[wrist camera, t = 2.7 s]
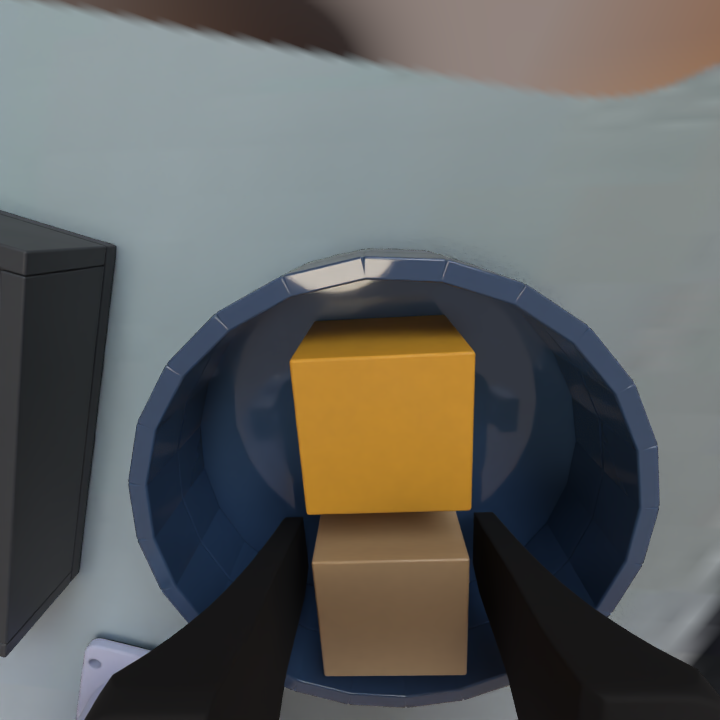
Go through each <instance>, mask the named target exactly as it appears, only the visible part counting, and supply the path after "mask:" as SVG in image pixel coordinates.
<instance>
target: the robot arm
mask: <svg viewBox="0 0 720 720" xmlns="http://www.w3.org/2000/svg"><path fill="white" fill-rule="evenodd" d="M308 567H309V564H308V555H307V547H306V538H305V530H304V521H303V517H285V518H284V519H283V520H282V522H281V523H280V525H279V526H278V527H277V529H276V530H275V532H274V533H273V534H272V536H271V537H270V538H269V540H268V541H267V542H266V544H265V545H264V546H263V548H262V549H261V550H260V551H259V553H258V554H257V555H256V556H255V558H254V559H253V560H252V561H251V563H250V564H249V565H248V566H247V567H246V568H245V569H244V571H243V572H242V573H241V574H240V575H239V576H238V577H237V578H236V580H235V581H234V582H233V583H232V584H231V585H230V586H229V587H228V588H227V589H226V590H225V591H224V592H223V593H222V594H221V595H220V596H219V597H218V598H217V599H216V600H215V601H214V602H213V603H212V604H211V605H210V606H209V607H207V608H206V609H205V610H204V611H203V612H202V613H200V614H199V615H198V616H197V617H196V618H194V619H193V620H192V621H191V622H190V623H188V624H187V625H186V626H185V627H184V628H182V629H181V630H180V631H178V632H177V633H176V634H174V635H173V636H172V637H170V638H169V639H167V640H166V641H165V642H163V643H162V644H160V645H159V646H157V647H156V648H155V649H153V650H152V651H151V650H147V649H143V648H139V647H135V646H131V645H127V644H123V643H119V642H115V641H111V640H107V639H103V638H97V639H93V640H92V641H91V642H90V643H89V645H88V646H87V648H86V649H85V653H84V660H83V668H82V676H81V683H80V691H79V699H78V706H77V714H76V720H279V717H280V710H281V703H282V697H283V690H284V684H285V678H286V673H287V668H288V664H289V660H290V656H291V652H292V647H293V643H294V639H295V635H296V631H297V627H298V623H299V619H300V615H301V610H302V606H303V602H304V598H305V591H306V584H307V576H308ZM473 567H474V571H475V576H476V581H477V585H478V589H479V593H480V596H481V599H482V602H483V605H484V608H485V611H486V614H487V617H488V620H489V623H490V626H491V629H492V632H493V634H494V637H495V640H496V643H497V646H498V649H499V652H500V655H501V658H502V661H503V663H504V667H505V670H506V673H507V677H508V680H509V684H510V688H511V692H512V696H513V700H514V704H515V708H516V712H517V716H518V720H720V697H719V695H718V694H717V693H716V691H715V690H714V689H713V687H712V686H711V685H710V684H709V683H708V681H707V680H706V679H705V678H704V677H703V675H702V674H701V673H700V672H699V671H698V669H696V668H694V667H692V666H690V665H688V664H686V663H684V662H683V661H681V660H679V659H677V658H675V657H673V656H671V655H669V654H667V653H665V652H663V651H662V650H660V649H658V648H656V647H654V646H652V645H651V644H649V643H647V642H646V641H644V640H642V639H641V638H639V637H637V636H636V635H634V634H632V633H630V632H629V631H627V630H626V629H624V628H623V627H621V626H619V625H618V624H616V623H615V622H613V621H612V620H610V619H609V618H608V617H606V616H605V615H603V614H602V613H600V612H599V611H597V610H596V609H594V608H593V607H592V606H590V605H589V604H588V603H586V602H585V601H584V600H582V599H581V598H580V597H579V596H577V595H576V594H575V593H574V592H572V591H571V590H570V589H569V588H567V587H566V586H565V585H564V584H562V583H561V582H560V581H559V580H558V579H557V578H556V577H555V576H553V575H552V574H551V573H550V572H549V571H548V570H547V569H546V568H545V567H544V566H543V565H542V564H541V563H540V562H539V561H538V560H537V559H536V558H535V557H534V556H533V555H532V554H531V553H530V552H529V551H528V550H527V549H526V548H525V547H524V546H523V545H522V544H521V543H520V542H519V541H518V540H517V539H516V538H515V536H514V535H513V534H512V533H511V532H510V531H509V530H508V529H507V527H506V526H505V525H504V524H503V523H502V522H501V521H500V519H499V518H498V517H497V516H496V515H495V514H494V513H493V512H474V528H473Z"/></svg>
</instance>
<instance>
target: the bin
mask: <svg viewBox="0 0 720 720" xmlns="http://www.w3.org/2000/svg"><path fill="white" fill-rule="evenodd" d="M115 252H116V246H115V245H113V244H109V243H106V242H103V241H99V240H96V239H93V238H90V237H86V236H83V235H80V234H76V233H73V232H70V231H66V230H63V229H60V228H56V227H53V226H50V225H47V224H43V223H40V222H37V221H33V220H30V219H27V218H23V217H20V216H17V215H14V214H10V213H7V212H4V211H0V656H1V657H6V656H7V655H8V654H9V653H10V652H11V651H12V650H13V648H14V647H15V646H16V645H17V644H18V643H19V641H20V640H21V639H22V638H23V637H24V636H25V634H26V633H27V632H28V631H29V630H30V629H31V627H32V626H33V625H34V624H35V623H36V622H37V620H38V619H39V618H40V617H41V616H42V615H43V613H44V612H45V611H46V610H47V609H48V608H49V606H50V605H51V604H52V603H53V602H54V601H55V599H56V598H57V597H58V596H59V595H60V594H61V592H62V591H63V590H64V589H65V588H66V587H67V585H68V584H69V583H70V582H71V581H72V580H73V578H74V577H75V576H76V575H77V574H78V572H79V564H80V555H81V547H82V538H83V529H84V521H85V512H86V503H87V495H88V486H89V477H90V469H91V460H92V451H93V443H94V434H95V425H96V417H97V408H98V400H99V391H100V382H101V374H102V365H103V356H104V348H105V339H106V330H107V322H108V313H109V304H110V296H111V287H112V278H113V270H114V261H115Z"/></svg>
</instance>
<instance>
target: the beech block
mask: <svg viewBox="0 0 720 720" xmlns="http://www.w3.org/2000/svg"><path fill="white" fill-rule="evenodd" d="M469 567H470V559H469V556H468V552H467V549H466V545H465V542H464V538H463V535H462V531H461V528H460V524H459V521H458V517H457V514H456V511H434V512H397V513H360V514H323V515H320V521H319V526H318V532H317V537H316V542H315V548H314V553H313V558H312V571H313V580H314V589H315V598H316V607H317V615H318V624H319V633H320V642H321V651H322V660H323V668H324V675H325V676H415V675H466V673H467V642H468V604H469Z"/></svg>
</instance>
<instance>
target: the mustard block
mask: <svg viewBox="0 0 720 720" xmlns="http://www.w3.org/2000/svg"><path fill="white" fill-rule="evenodd" d="M289 364H290V373H291V382H292V390H293V399H294V408H295V417H296V426H297V435H298V443H299V452H300V461H301V470H302V479H303V488H304V497H305V505H306V512H307V514H308V515H323V514H360V513H397V512H434V511H469V510H470V509H471V501H472V463H473V426H474V388H475V352H474V350H473V349H472V348H471V347H470V346H469V344H468V343H467V342H466V341H465V339H464V338H463V337H462V336H461V334H460V333H459V332H458V331H457V330H456V328H455V327H454V326H453V325H452V323H451V322H450V321H449V320H448V318H447V317H446V316H445V315H430V316H410V317H390V318H369V319H349V320H329V321H315V322H314V323H313V325H312V326H311V328H310V330H309V331H308V333H307V334H306V336H305V337H304V339H303V340H302V342H301V344H300V345H299V347H298V348H297V350H296V351H295V353H294V355H293V356H292V358H291V359H290V362H289Z"/></svg>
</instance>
